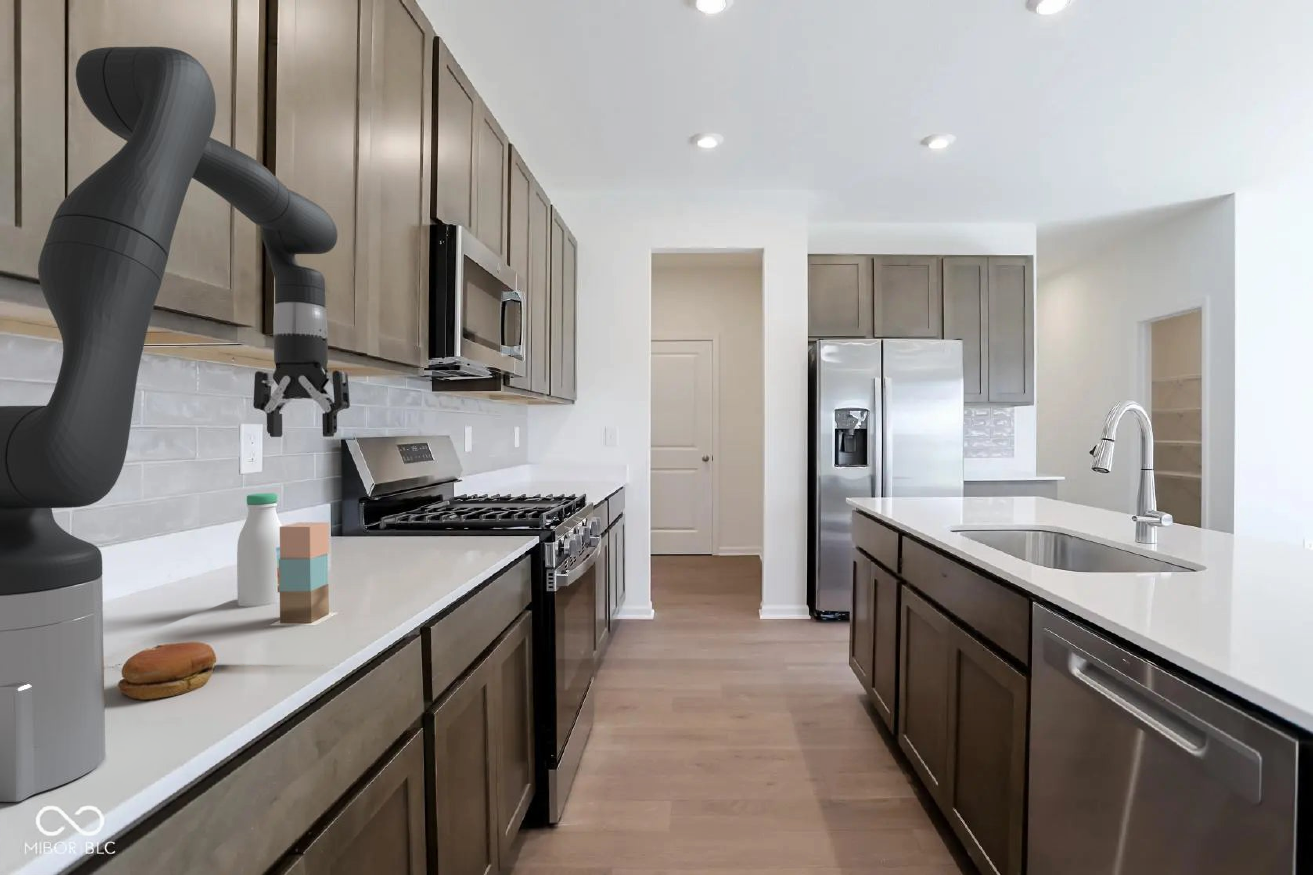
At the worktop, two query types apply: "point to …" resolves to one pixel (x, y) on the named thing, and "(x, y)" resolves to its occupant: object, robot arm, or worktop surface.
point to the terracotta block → (304, 540)
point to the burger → (167, 670)
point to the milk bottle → (259, 553)
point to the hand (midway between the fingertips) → (302, 436)
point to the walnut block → (304, 605)
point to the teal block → (303, 573)
